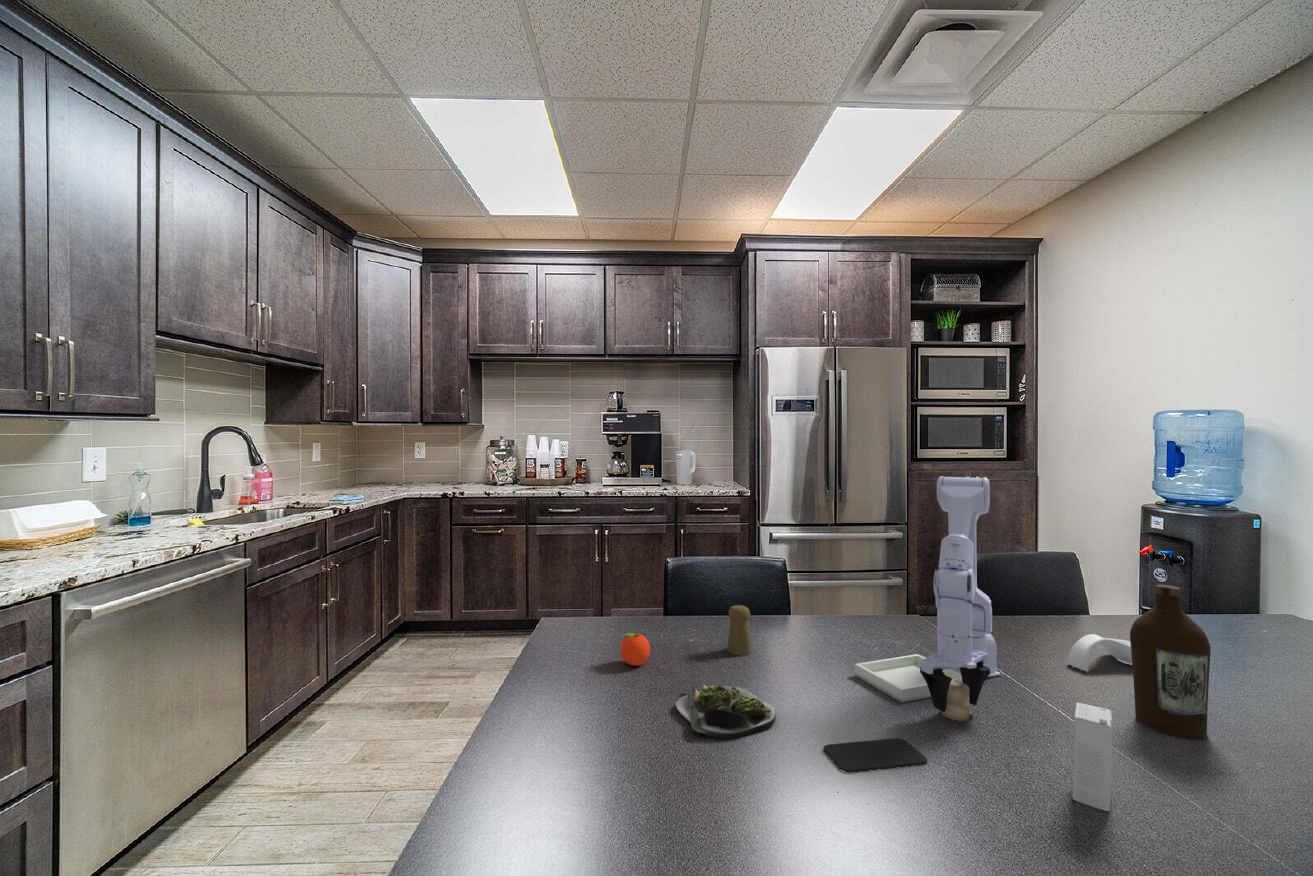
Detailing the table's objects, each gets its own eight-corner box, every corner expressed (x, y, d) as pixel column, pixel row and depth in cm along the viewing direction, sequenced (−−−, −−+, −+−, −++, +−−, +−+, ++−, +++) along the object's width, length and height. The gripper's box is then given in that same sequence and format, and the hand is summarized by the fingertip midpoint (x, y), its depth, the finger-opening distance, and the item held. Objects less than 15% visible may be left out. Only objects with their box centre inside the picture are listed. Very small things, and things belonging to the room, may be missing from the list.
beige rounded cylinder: (954, 707, 105) (953, 678, 105) (975, 718, 101) (975, 688, 101) (935, 711, 104) (935, 682, 104) (956, 722, 99) (956, 692, 100)
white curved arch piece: (1125, 651, 135) (1125, 622, 135) (1182, 670, 124) (1182, 638, 124) (1052, 661, 129) (1052, 631, 129) (1105, 682, 118) (1104, 648, 118)
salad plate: (653, 701, 108) (653, 678, 108) (729, 684, 116) (729, 663, 116) (703, 750, 91) (703, 722, 91) (789, 726, 99) (789, 701, 99)
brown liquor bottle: (1119, 708, 105) (1117, 577, 106) (1188, 716, 102) (1186, 582, 102) (1150, 736, 95) (1148, 591, 95) (1227, 746, 92) (1225, 596, 92)
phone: (931, 761, 86) (843, 770, 84) (931, 767, 86) (843, 776, 84) (901, 737, 94) (820, 744, 91) (901, 742, 94) (820, 750, 91)
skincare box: (1074, 781, 82) (1073, 700, 82) (1113, 793, 79) (1112, 709, 79) (1071, 801, 77) (1070, 715, 78) (1113, 815, 74) (1111, 725, 75)
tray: (917, 665, 126) (917, 654, 126) (969, 689, 113) (968, 677, 113) (854, 675, 120) (854, 664, 120) (901, 702, 107) (901, 689, 107)
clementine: (610, 667, 125) (610, 635, 125) (624, 656, 131) (624, 626, 131) (643, 672, 122) (643, 640, 122) (654, 661, 128) (654, 630, 128)
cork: (751, 656, 131) (751, 610, 131) (726, 654, 132) (725, 609, 132) (752, 647, 137) (752, 603, 137) (727, 646, 138) (727, 602, 138)
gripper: (942, 645, 97) (943, 722, 96) (1002, 635, 101) (1003, 709, 101) (911, 632, 103) (912, 704, 103) (969, 624, 108) (970, 693, 108)
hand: (955, 706), depth 102 cm, fingers open, 7 cm apart
